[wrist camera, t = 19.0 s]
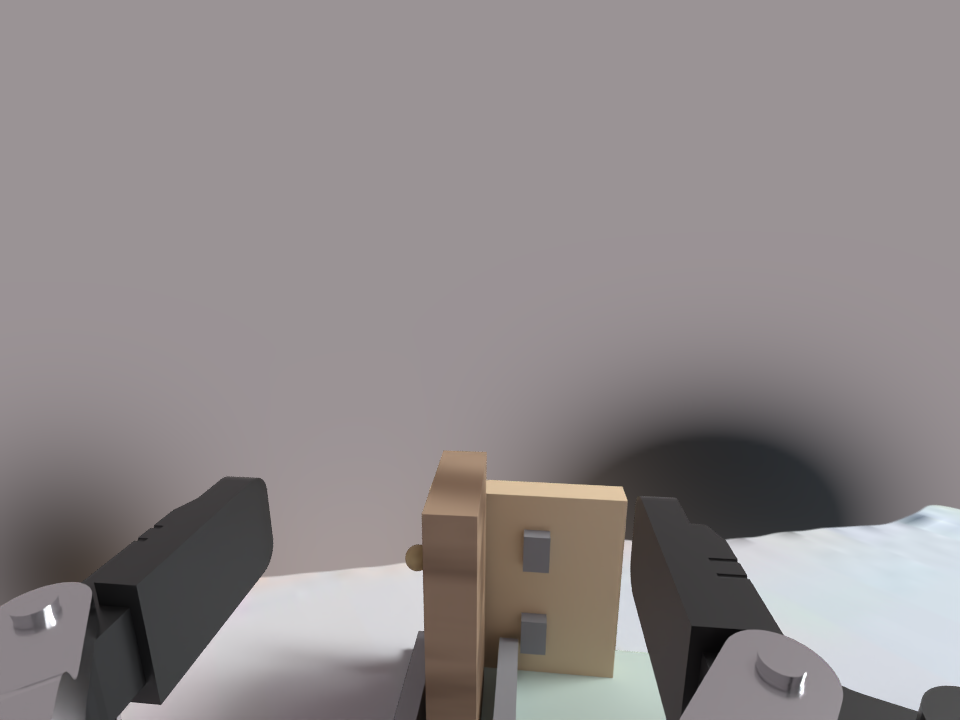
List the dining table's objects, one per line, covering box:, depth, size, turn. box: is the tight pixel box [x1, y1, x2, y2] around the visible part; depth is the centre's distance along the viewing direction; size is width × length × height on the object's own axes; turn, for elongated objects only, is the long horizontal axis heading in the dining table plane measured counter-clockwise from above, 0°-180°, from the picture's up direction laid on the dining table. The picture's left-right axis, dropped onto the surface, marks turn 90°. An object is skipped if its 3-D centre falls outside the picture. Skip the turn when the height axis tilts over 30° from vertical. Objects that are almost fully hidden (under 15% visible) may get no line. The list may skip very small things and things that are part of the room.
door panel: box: [405, 451, 487, 720], centre depth 28 cm, size 7×4×16 cm, turn 176°
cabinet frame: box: [394, 480, 666, 720], centre depth 27 cm, size 17×18×14 cm
